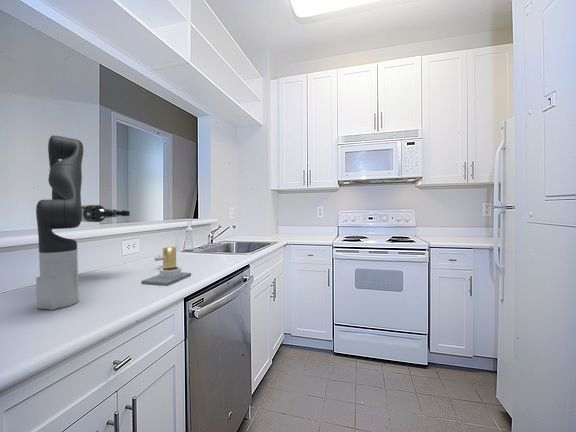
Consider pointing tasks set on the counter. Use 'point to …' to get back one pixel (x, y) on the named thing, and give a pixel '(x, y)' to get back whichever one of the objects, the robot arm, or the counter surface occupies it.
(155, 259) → the pipe connector
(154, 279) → the plate
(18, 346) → the counter surface
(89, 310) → the counter surface
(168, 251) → the cylinder
